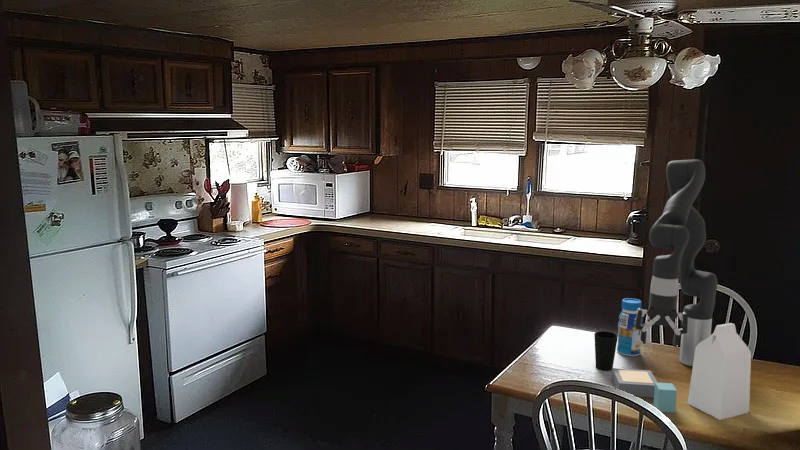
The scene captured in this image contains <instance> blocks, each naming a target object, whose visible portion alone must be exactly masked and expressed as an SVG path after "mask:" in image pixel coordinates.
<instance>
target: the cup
mask: <svg viewBox="0 0 800 450" xmlns="http://www.w3.org/2000/svg"><path fill="white" fill-rule="evenodd" d="M617 345H618V333H615V332H612V331H607V330H606V331H605V330H600V331H595V332H594V353H595V356H594V357H595V358H594V359H595V368H596V369H597V370H599V371H602V372H603V371H604V372H609V371H612V370H613V368H614V364H615V362H614V361H615V358H616V352H617Z"/></svg>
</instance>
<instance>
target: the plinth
mask: <svg viewBox="0 0 800 450" xmlns="http://www.w3.org/2000/svg"><path fill="white" fill-rule="evenodd" d="M611 371H612V372H611V381H612V383H613V386H614V389H616V388H617V389H619V390H622V391H625V392H627V393H630V394H633V395H635V396H634V397H637V396H638V397H639V398H641V397H642V398H653V399H654V390H655V382H657V383H659V382H658V380H657V379H656V377H655V375H654V374H653V372H652V370H648V369H647V370H646V369H630V368H629V369H628V368H619V367H618V368H616V367H615V368H614V367H613V369H612V370H611Z"/></svg>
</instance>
